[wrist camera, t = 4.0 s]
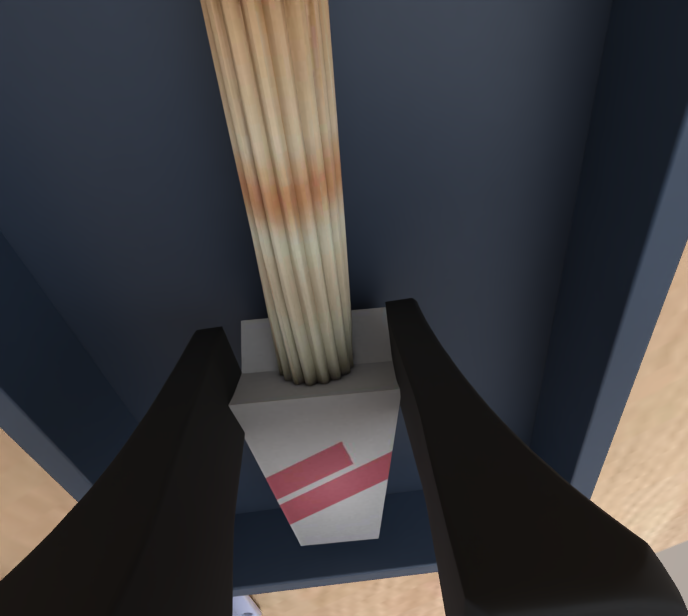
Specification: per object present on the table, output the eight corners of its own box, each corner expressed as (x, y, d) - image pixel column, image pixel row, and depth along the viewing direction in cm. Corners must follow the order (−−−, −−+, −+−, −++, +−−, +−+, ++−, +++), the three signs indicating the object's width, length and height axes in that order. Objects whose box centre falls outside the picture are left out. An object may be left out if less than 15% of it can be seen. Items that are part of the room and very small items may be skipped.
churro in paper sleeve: (283, 590, 18) (7, -316, 5) (285, 513, 20) (96, -264, 7) (398, 581, 18) (428, -344, 5) (388, 505, 20) (391, -284, 7)
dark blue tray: (542, 481, 22) (569, 556, 20) (194, 526, 22) (182, 604, 20) (829, -754, 5) (1223, -1172, 3) (-540, -427, 6) (-1042, -569, 4)
